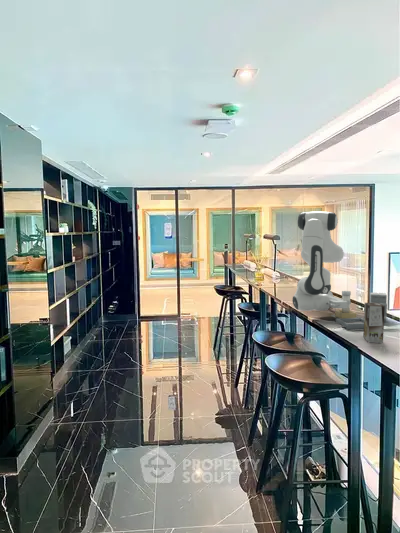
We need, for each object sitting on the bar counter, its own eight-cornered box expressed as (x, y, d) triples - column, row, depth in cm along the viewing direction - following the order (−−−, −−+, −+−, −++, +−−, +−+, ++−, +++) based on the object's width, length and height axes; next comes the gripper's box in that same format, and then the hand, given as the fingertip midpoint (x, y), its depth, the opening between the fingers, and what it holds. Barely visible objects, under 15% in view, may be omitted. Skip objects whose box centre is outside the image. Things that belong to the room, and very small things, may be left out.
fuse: (339, 316, 216) (340, 290, 214) (347, 316, 216) (348, 290, 215) (343, 318, 211) (344, 292, 210) (351, 317, 212) (352, 292, 211)
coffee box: (383, 343, 169) (385, 306, 168) (367, 342, 171) (369, 305, 169) (378, 337, 178) (379, 302, 177) (363, 337, 179) (364, 301, 178)
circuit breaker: (370, 325, 201) (371, 296, 200) (369, 319, 214) (370, 292, 213) (386, 327, 198) (387, 297, 197) (384, 320, 211) (385, 293, 210)
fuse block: (330, 317, 219) (330, 309, 219) (350, 317, 220) (350, 309, 220) (340, 322, 207) (340, 314, 207) (361, 322, 209) (362, 313, 208)
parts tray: (335, 324, 204) (335, 318, 203) (361, 323, 205) (361, 317, 205) (346, 330, 192) (347, 323, 192) (373, 329, 194) (374, 323, 193)
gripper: (332, 299, 201) (357, 299, 202) (315, 293, 221) (339, 292, 223) (331, 311, 201) (357, 311, 203) (315, 304, 222) (338, 303, 223)
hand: (347, 301), depth 213 cm, fingers closed on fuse, 4 cm apart
